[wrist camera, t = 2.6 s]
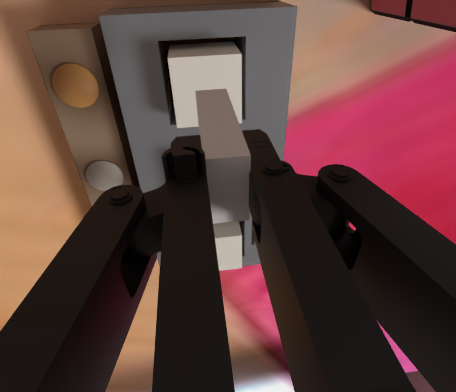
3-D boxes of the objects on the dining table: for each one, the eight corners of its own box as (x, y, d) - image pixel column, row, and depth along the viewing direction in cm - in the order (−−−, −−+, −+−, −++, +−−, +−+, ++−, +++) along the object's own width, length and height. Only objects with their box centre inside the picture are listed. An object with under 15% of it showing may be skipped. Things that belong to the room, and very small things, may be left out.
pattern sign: (153, 243, 35) (151, 261, 32) (115, 247, 34) (111, 266, 32) (99, 22, 22) (90, 28, 19) (37, 25, 21) (20, 32, 19)
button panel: (265, 236, 36) (273, 262, 33) (163, 247, 35) (161, 275, 32) (280, 1, 22) (297, 6, 19) (111, 8, 21) (98, 15, 18)
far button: (236, 239, 33) (242, 268, 30) (195, 243, 33) (197, 273, 29) (235, 207, 30) (242, 235, 27) (191, 212, 30) (192, 240, 27)
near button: (233, 102, 24) (241, 123, 21) (177, 106, 24) (177, 128, 20) (232, 41, 21) (241, 53, 18) (169, 44, 21) (167, 58, 18)
